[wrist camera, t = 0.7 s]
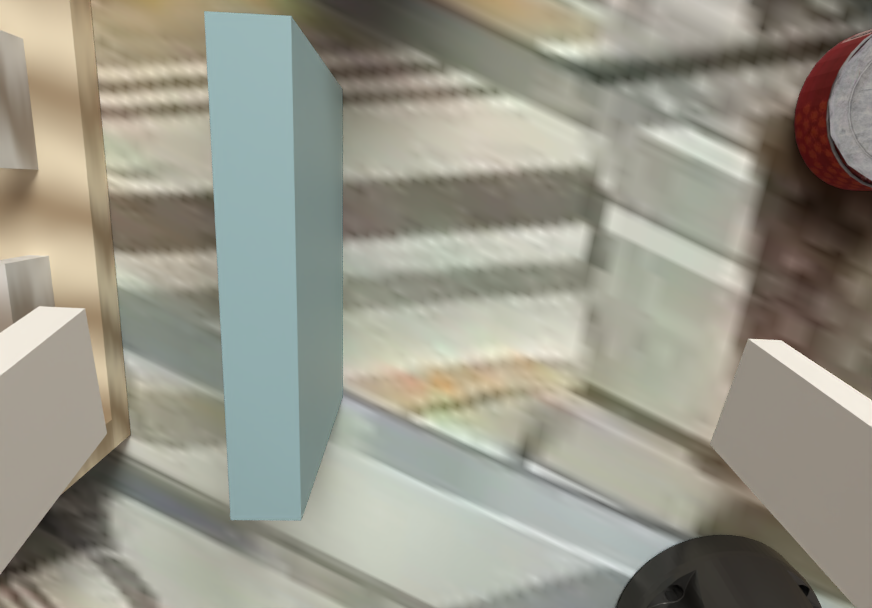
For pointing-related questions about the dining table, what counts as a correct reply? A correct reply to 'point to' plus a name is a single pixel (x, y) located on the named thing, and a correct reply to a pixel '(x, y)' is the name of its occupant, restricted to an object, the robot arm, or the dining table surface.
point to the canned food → (839, 115)
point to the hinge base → (58, 188)
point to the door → (276, 255)
